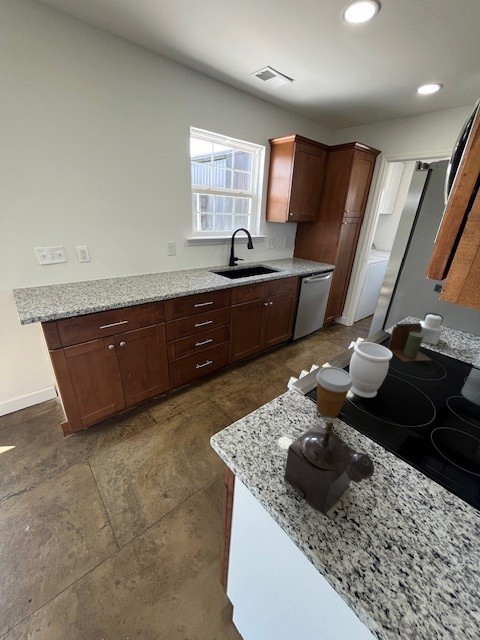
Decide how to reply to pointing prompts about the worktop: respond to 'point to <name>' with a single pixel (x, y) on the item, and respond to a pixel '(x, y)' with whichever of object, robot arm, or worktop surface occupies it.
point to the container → (431, 328)
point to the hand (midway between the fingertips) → (450, 287)
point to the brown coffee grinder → (324, 467)
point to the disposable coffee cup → (332, 390)
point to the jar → (368, 368)
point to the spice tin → (413, 344)
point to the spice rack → (404, 341)
